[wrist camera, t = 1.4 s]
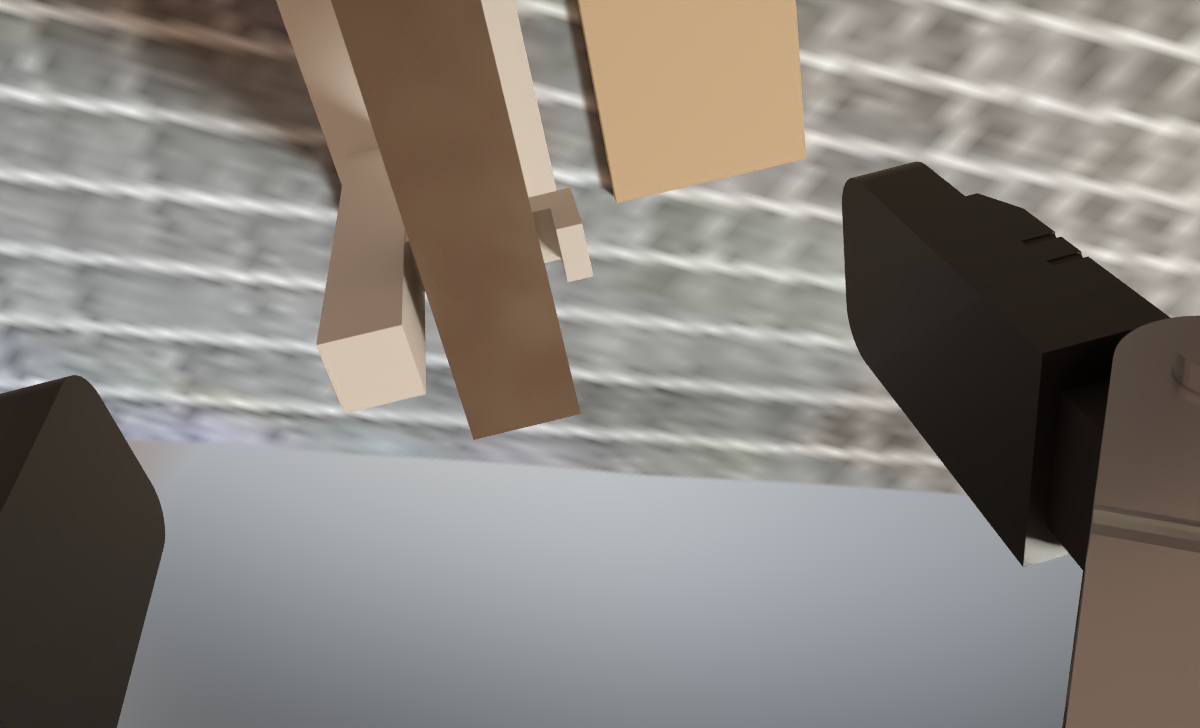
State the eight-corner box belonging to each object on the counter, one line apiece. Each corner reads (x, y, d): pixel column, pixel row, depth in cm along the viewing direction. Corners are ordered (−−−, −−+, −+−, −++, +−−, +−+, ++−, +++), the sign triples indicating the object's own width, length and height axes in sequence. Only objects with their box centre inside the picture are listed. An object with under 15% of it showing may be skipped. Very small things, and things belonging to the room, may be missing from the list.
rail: (318, -674, 17) (301, -741, 15) (566, 355, 29) (580, 413, 27) (149, -638, 17) (102, -702, 15) (469, 379, 29) (473, 439, 27)
